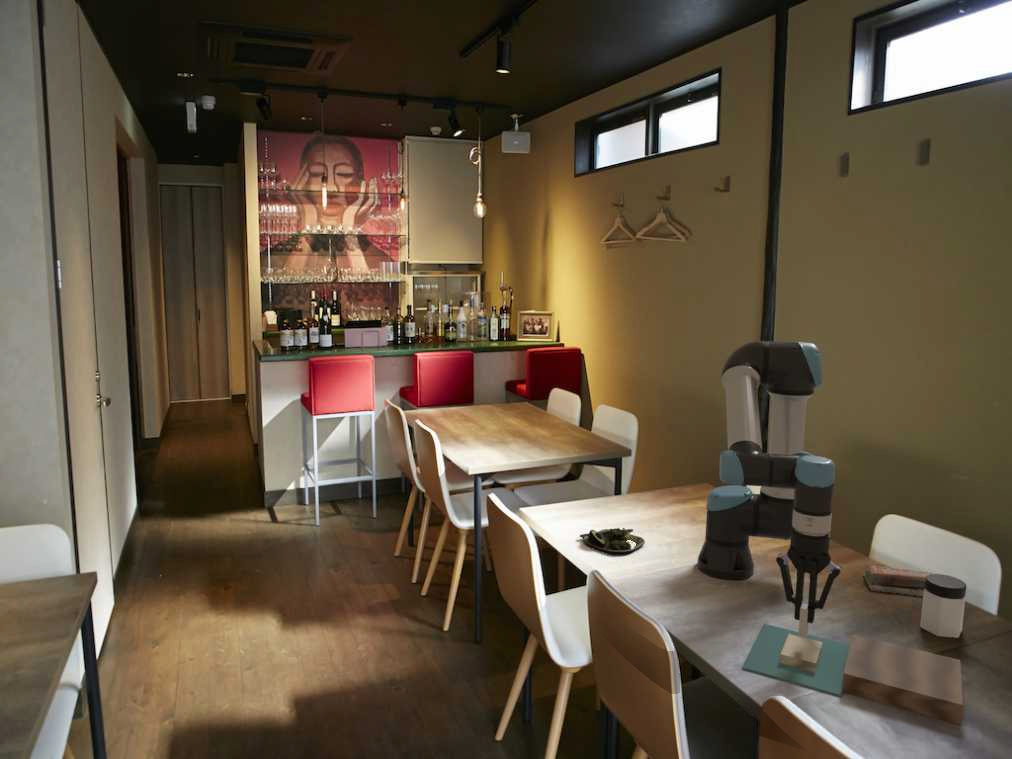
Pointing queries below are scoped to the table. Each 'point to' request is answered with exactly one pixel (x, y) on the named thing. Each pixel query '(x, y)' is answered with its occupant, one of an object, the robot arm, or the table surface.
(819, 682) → the teal mat
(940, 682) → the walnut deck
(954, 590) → the jar
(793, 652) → the maple tile
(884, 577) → the packaged product
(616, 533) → the salad plate
